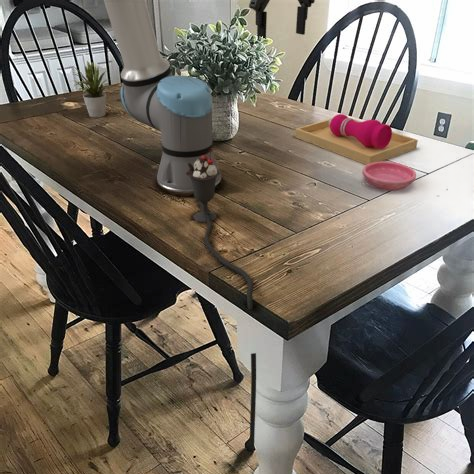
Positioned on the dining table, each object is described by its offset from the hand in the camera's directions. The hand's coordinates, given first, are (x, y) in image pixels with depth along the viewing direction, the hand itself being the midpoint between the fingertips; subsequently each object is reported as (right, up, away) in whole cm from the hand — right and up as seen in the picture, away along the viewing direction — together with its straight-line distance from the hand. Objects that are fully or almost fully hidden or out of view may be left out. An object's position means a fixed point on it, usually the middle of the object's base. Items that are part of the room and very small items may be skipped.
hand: (281, 36), depth 144 cm
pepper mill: (+28, -26, +1) cm, 38 cm away
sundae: (-18, -52, -27) cm, 61 cm away
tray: (+21, -25, +10) cm, 35 cm away
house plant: (-57, -10, +32) cm, 66 cm away
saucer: (+24, -41, -13) cm, 50 cm away
